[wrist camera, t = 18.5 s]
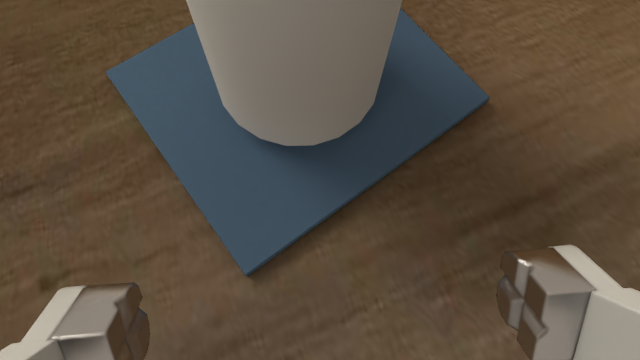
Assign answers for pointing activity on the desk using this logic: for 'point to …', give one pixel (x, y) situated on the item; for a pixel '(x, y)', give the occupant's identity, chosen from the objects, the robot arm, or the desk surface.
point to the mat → (279, 160)
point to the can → (296, 62)
